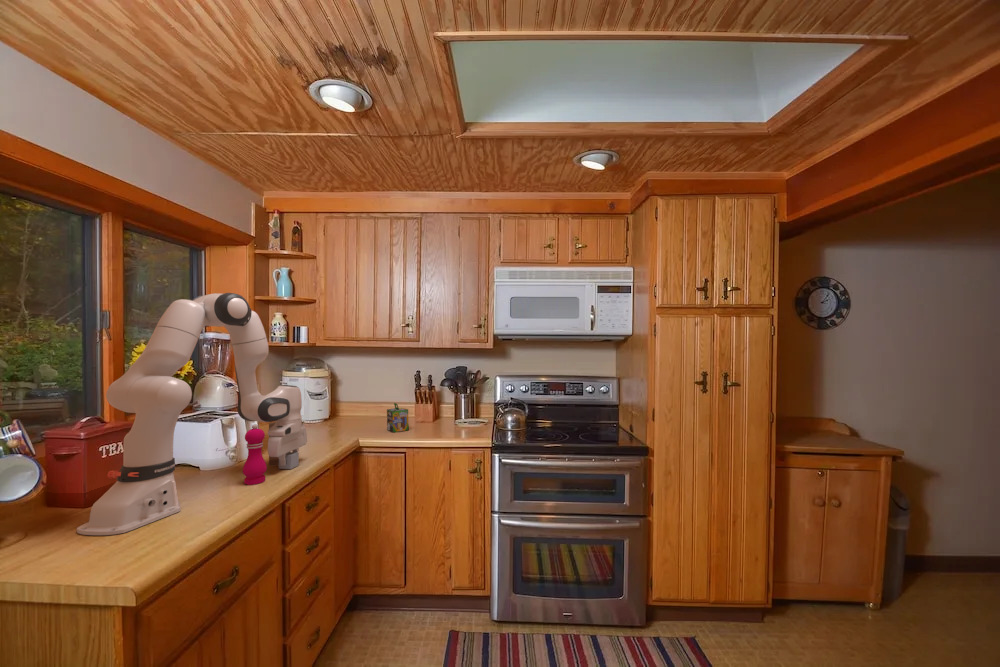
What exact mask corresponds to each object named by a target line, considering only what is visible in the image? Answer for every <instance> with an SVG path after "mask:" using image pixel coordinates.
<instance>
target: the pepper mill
mask: <svg viewBox="0 0 1000 667" xmlns="http://www.w3.org/2000/svg"><path fill="white" fill-rule="evenodd" d="M258 427H259V426H258V424H256V423H254V424H253V425H251V429H249V430H248V431H246V432H245V435H244V440H245V442H247V443H246V449H247V457H246V460H245V463H244V465H243V467H242V474H243V475H244V476H245V477H244V479H243V480H244V485H246V484H247V485H246V486H253V485H254V484H255V485H260V484H262V483H263V482H265V480H266V475H265V473H266V472H267V468H268V467H267V463H266V460H265V459H264V456H263V454H262V449H263V448H262V447H263V446H264V442H263V440H264V439H265V437H266V435H265V434H266V433H265V431H264V430H263V429H261V428H258ZM259 483H260V484H259ZM255 485H254V486H255Z"/></svg>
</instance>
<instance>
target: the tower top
mask: <svg viewBox="0 0 1000 667" xmlns="http://www.w3.org/2000/svg"><path fill="white" fill-rule="evenodd" d="M275 423H276V421H273V422H268V430H269V429H270V428H271V427H272V426H273V425H274V424H275ZM269 437H270V436H268V438H269Z"/></svg>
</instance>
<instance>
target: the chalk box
mask: <svg viewBox="0 0 1000 667" xmlns="http://www.w3.org/2000/svg"><path fill="white" fill-rule="evenodd" d="M393 405H394V408H388V409H386V428H387V431H389V432H390V433H392V434H395V433H399V432H406V431H407V432H408V431H409V430H410V429H409V425H410V422H409V409H408V408H406V407H399V405H398V403H396V402H394V403H393Z"/></svg>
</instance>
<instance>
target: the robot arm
mask: <svg viewBox="0 0 1000 667" xmlns="http://www.w3.org/2000/svg"><path fill="white" fill-rule="evenodd" d="M207 327H218V328H220V327H224V328H225V330H226V331H227V332H228V334H229V339H230V343H231V346H232V352H233V356H234V357H233V358H234V370H235V371H234V372H235V377H236V378H235V379H236V385H237V391H238V400H237V408H236V411H237V413H238V415H239V417H240V418H241V419H243V420H244V421H248V422H259V423H261V422H262V423H272V422H275V421H276V423H275V424H274V425H273V426H272V427H271V428H270V429H269V428H268V430H267V436H268V441H267V454H268V457H269V456H270V457H279V459H280V465H281V466H284V465H286V464H287V460H286V459H285V456H286V453H288V452H299V451H300V448H301V447H304V446H305V445H307V442H308V436H307V435H308V433H307V429H306V426H305V424H304V423H303V421H302V420H303V418H302V412H301V410H302V406H303V405H302V393H301V389H300V387H298V386H297V385H288V384H280V385H278V386H277V387H276V388H275V389H274V390H273V391H271V392H269V393H267V394H265V395H262V394H261V392H260V391H259V390H258V389H259V388H258V383H257V374H256V370H257V368H258V366H259V365H260V364H261V363H263V362H264V361H265V360H266V359H267V357H268V355H269V353H270V352H269V350H270V349H269V342H268V338H267V334H266V331H265V327H264V325H263V323H262V320H261V318H260V316H259V314H258V313H257V312H256V311H254V310H252V308H251V306H250V304H249V302H248V301H247V300H246V298H245V297H243V295H240V294H239V293H235V292H234V293H233V292H225V293H209V294H205V295H199V296H196V297H195V298H193V299H185V298H184V299H181V298H180V299H177V300H174V301H173V302H172V303H170V305H169V306H168V307H167V308H166V310H165V311H164V312H163V314H162V315H161V317H160V318H159V320H158V322H157V325H155V328H154V331H153V332H152V334H151V336H150V338H149V340H148V342H147V343H146V346H145V348H144V349H143V351H142V353H140V355H139V357H138V358H137V359H136V360H135V362H133V364H132V365H131V366H130V367H129V368H128V369H127V371H126V372H125V373H124V374H123V375H122V376H120V377H119V378H117V379H116V380H115V381H113V382H112V383H111V384H110V385H109V386H108V388H107V390H106V394H105V398H106V400H107V402H108V404H109V405H110V406H111V407H113V408H114V409H117V410H118V411H122V412H124V413H128V414H129V413H131V414H135V418H134V421H133V424H132V426H131V429H130V430H129V432H127V433H126V435H125V436H124V438H123V450H122V451H123V456H122V457H123V458H122V459H123V464H122V465H121V467H120V469H119V470H110V471H108V473H107V476H106V477H107V478H108V479H116V482H115V483H114V484H113V485H112V486H111V487H110V488H109V489H107V491H106V492H105V493H103V495H102V496H101V497H99V499H97V500H96V501H95V502H93V505H92V506H91V509H90V513H89V518H88V520H89V521H87V522H85V523H84V524H82V525H80V526H77V528H76V533H77V534H78V535H79V534H80V535H84V536H111V535H119V534H124V533H127V532H131V531H133V530H136V529H139V528H140V527H143V526H145V525H146V526H147V525H148V524H151V523H153V522H156V521H158V520H161V519H164V518H166V517H169V516H171V515H174V514H177V513H179V512H181V510H182V509H181V502H180V501H179V498H178V491H177V484H176V479H175V475H174V471H176V461H175V460H176V459H175V457H174V436H175V428H176V425H177V423H178V420H179V418H180V415H181V413H182V412H183V410H184V409H186V408H187V407H188V406H189V404H190V403H191V400H192V398H193V397H192V396H193V392H192V388H191V386H190V385H189V384H188V382H186V381H184V380H182V379H180V378H176V377H173V376H174V375H175V374H176V373H177V371H179V370H180V369H181V368H183V367H184V366H186V365H187V364H189V363H188V362H189V361H190V359H191V357H192V355H193V352H194V351H195V348H196V345H197V343H198V341H199V338H200V336H201V333H202V331H203V329H204V328H207ZM269 436H270V437H269Z"/></svg>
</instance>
